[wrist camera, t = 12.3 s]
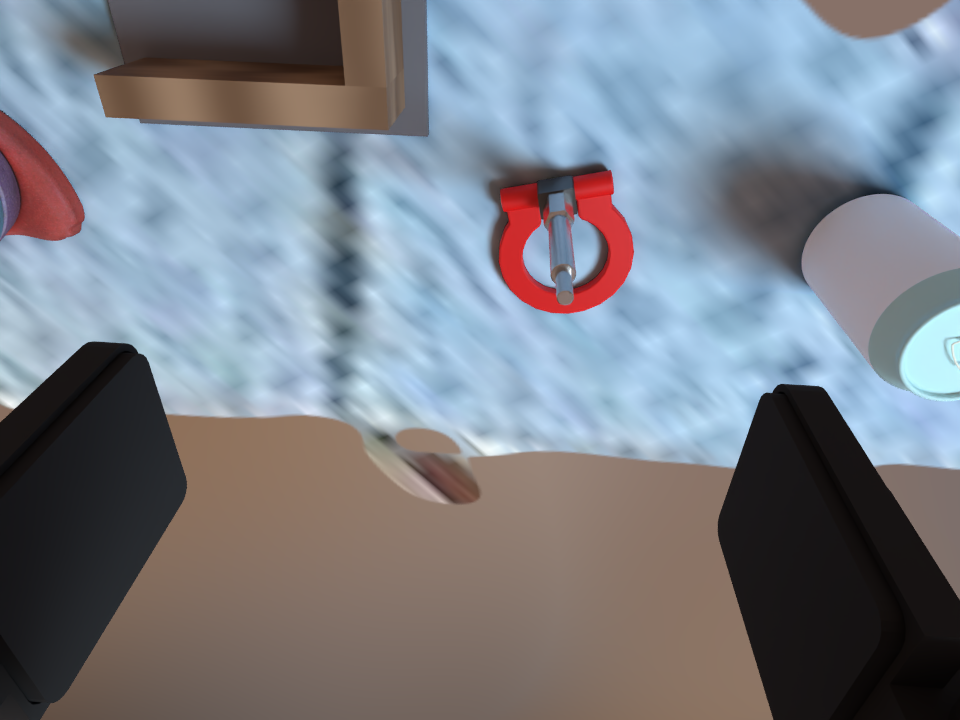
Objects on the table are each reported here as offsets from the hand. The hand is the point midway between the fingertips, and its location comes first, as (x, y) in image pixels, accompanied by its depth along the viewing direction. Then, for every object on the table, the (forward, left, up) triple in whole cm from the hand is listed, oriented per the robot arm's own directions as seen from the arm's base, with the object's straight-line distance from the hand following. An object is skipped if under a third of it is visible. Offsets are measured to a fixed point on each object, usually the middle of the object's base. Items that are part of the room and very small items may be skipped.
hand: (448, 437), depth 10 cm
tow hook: (-4, +10, -31) cm, 33 cm away
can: (-22, +9, -31) cm, 39 cm away
